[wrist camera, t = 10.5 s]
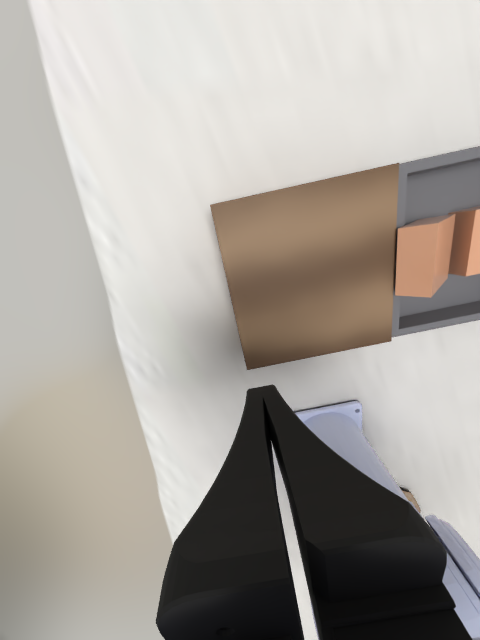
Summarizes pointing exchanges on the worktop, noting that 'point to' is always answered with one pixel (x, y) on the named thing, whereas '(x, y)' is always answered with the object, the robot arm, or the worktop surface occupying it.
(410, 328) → the box
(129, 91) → the worktop surface
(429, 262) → the tile
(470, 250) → the tile
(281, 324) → the board
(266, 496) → the robot arm
